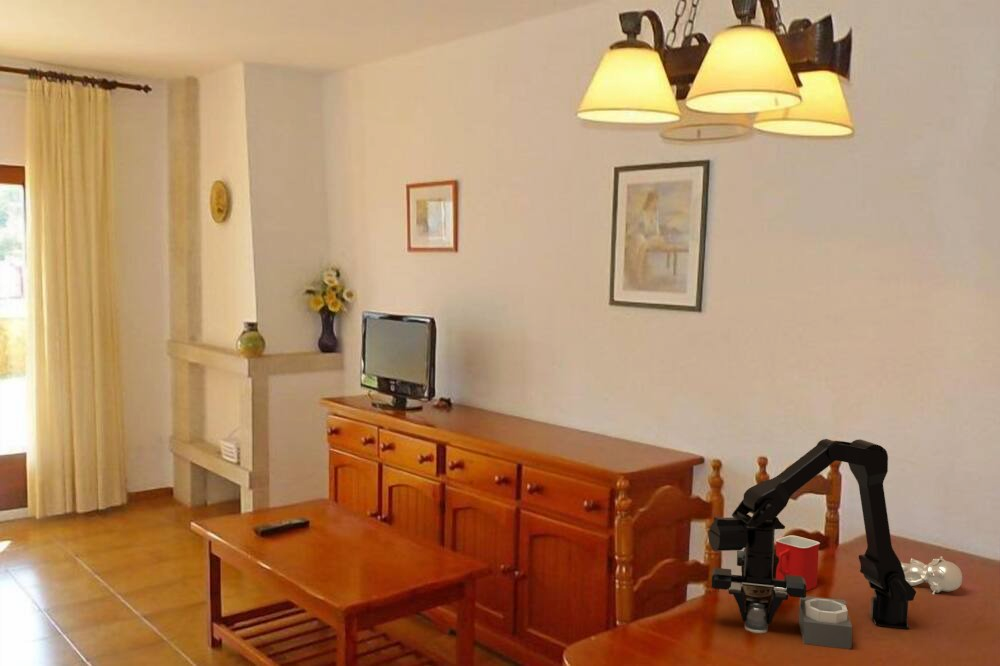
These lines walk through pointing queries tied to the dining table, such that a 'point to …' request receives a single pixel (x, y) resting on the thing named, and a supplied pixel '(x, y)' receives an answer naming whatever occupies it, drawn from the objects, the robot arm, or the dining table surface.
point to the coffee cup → (760, 591)
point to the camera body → (825, 622)
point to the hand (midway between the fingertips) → (756, 622)
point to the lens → (756, 615)
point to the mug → (798, 559)
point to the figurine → (933, 574)
